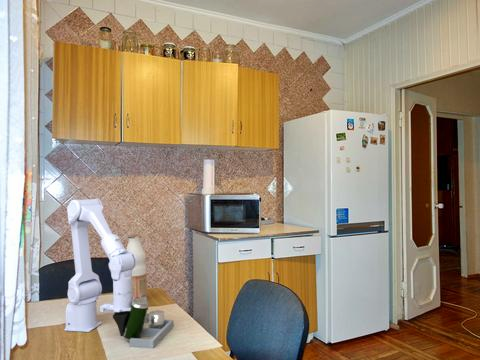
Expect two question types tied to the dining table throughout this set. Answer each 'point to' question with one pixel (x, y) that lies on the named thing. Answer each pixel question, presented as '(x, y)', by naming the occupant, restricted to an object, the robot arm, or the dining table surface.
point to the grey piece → (154, 333)
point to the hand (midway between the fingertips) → (123, 335)
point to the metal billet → (156, 319)
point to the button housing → (147, 318)
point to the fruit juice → (138, 268)
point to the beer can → (136, 319)
